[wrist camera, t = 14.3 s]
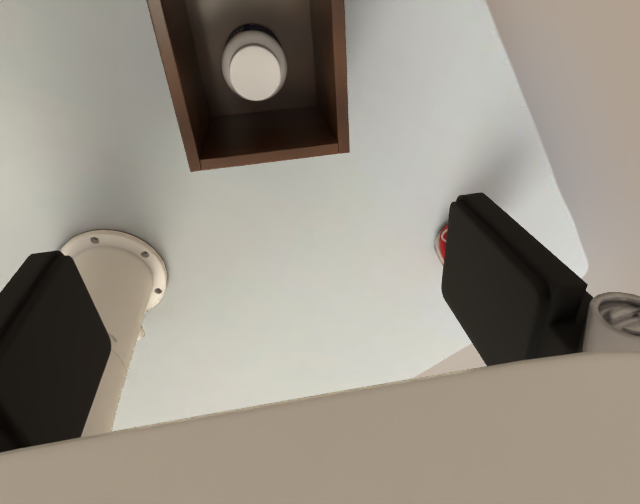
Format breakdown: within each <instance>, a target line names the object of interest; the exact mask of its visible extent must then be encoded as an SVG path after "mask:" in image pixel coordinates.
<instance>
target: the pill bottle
mask: <svg viewBox="0 0 640 504" xmlns="http://www.w3.org/2000/svg"><path fill="white" fill-rule="evenodd" d="M222 72H223V76H224V79H225V81H226V83H227V84H228V86H229V87H230V88H231V90H232V91H233V92H235V93H236V94H237V95H238V96H240V97H242V98H244V99H247V100H251V101H262V100H266V99H269V98H271V97H272V96H274V95H275V94H276V93H277V92H278V91H279V90H280V89H281V88H282V86H283V84H284V82H285V79H286V75H287V59H286V56H285V53H284V50H283V48H282V46H281V44H280V42H279V40H278V38H277V37H276V35H275V34H274V33H273V32H272V31H271V30H270V29H268V28H267V27H265V26H263V25H260V24H256V23H248V24H244V25H241V26H239V27H237V28H236V29H235V30H234V31H233V32H232V33H231V34H230V35H229V37H228V39H227V41H226V45H225V48H224V51H223V55H222Z"/></svg>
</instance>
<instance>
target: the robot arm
mask: <svg viewBox="0 0 640 504" xmlns="http://www.w3.org/2000/svg"><path fill="white" fill-rule="evenodd" d="M167 280H168V278H167V270H166V267H165V264H164V262H163V260H162V259H161V257H160V256H159V254H158V253H157V252H156V251H155V250H154V249H153V248H152V247H151V246H149V245H148V244H147V243H146V242H144V241H142V240H140V239H139V238H137V237H135V236H132V235H129V234H127V233H123V232H118V231H113V230H96V231H90V232H86V233H82V234H80V235H78V236H76V237H74V238H72V239H71V240H69V241H68V242H67V243H66V244H65V245H64V246H63V247H62V249H61V250H60V251H51V252H43V253H36V254H31V255H30V256H29V257H28V258H27V259H26V260H25V262H24V263H23V264H22V266H21V267H20V268H19V269H18V271H17V272H16V273H15V275H14V276H13V277H12V278H11V280H10V281H9V282H8V284H7V285H6V286H5V287H4V289H3V290H2V291H1V293H0V504H640V297H639V296H637V295H633V294H628V293H621V292H608V293H603V294H599V295H597V296H596V297H594V298H593V297H592V296H591V295H590V294H589V293H588V292H586V288H587V284H586V283H585V282H584V281H583V280H582V279H581V278H580V277H578V276H577V275H576V274H575V273H574V272H573V271H572V270H571V269H569V268H568V267H567V266H566V265H565V264H564V263H563V262H561V261H560V260H559V259H558V258H557V257H556V256H555V255H553V254H552V253H551V252H550V251H549V250H548V249H547V248H545V247H544V246H543V245H542V244H541V243H540V242H539V241H537V240H536V239H535V238H534V237H533V236H532V235H531V234H529V233H528V232H527V231H526V230H525V229H524V228H523V227H522V226H520V225H519V224H518V223H517V222H516V221H515V220H514V219H512V218H511V217H510V216H509V215H508V214H507V213H506V212H504V211H503V210H502V209H501V208H500V207H499V206H498V205H496V204H495V203H494V202H493V201H492V200H491V199H490V198H488V197H487V196H486V195H485V194H484V193H474V194H467V195H460V196H459V197H458V198H457V200H456V202H452V203H451V205H450V210H449V219H448V229H447V238H446V248H445V257H444V267H443V276H442V294H443V297H444V299H445V301H446V302H447V304H448V305H449V307H450V309H451V310H452V312H453V313H454V315H455V316H456V318H457V320H458V321H459V323H460V324H461V326H462V327H463V329H464V331H465V332H466V334H467V335H468V337H469V338H470V340H471V342H472V343H473V345H474V346H475V348H476V349H477V351H478V353H479V354H480V356H481V357H482V359H483V360H484V362H485V364H486V365H487V366H486V367H480V368H474V369H467V370H462V371H456V372H450V373H444V374H439V375H432V376H426V377H420V378H414V379H408V380H403V381H397V382H391V383H385V384H379V385H373V386H367V387H361V388H355V389H350V390H344V391H338V392H333V393H327V394H321V395H315V396H310V397H304V398H298V399H292V400H287V401H281V402H275V403H270V404H264V405H258V406H253V407H247V408H241V409H236V410H230V411H224V412H219V413H213V414H207V415H202V416H196V417H191V418H185V419H180V420H174V421H169V422H163V423H158V424H152V425H146V426H141V427H135V428H130V429H124V430H119V431H113V432H112V428H113V423H114V419H115V414H116V410H117V406H118V403H119V399H120V395H121V392H122V389H123V385H124V382H125V379H126V375H127V372H128V369H129V365H130V362H131V358H132V355H133V352H134V348H135V345H136V342H137V339H141V338H143V337H144V336H145V332H144V330H143V327H142V326H141V325H142V322H143V318H144V315H145V312H147V311H149V310H150V309H152V308H153V307H155V306H156V305H157V303H158V302H159V301H160V300H161V298H162V297H163V295H164V293H165V290H166V286H167Z"/></svg>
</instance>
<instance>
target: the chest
mask: <svg viewBox="0 0 640 504" xmlns="http://www.w3.org/2000/svg"><path fill="white" fill-rule="evenodd" d="M146 1H147V4H148V8H149V12H150V16H151V20H152V24H153V28H154V32H155V35H156V39H157V43H158V47H159V51H160V55H161V59H162V63H163V67H164V70H165V74H166V78H167V82H168V86H169V90H170V94H171V98H172V101H173V105H174V109H175V113H176V117H177V121H178V125H179V129H180V133H181V136H182V140H183V144H184V148H185V152H186V156H187V160H188V164H189V167H190V171H191V172H194V171H201V170H210V169H218V168H226V167H234V166H243V165H251V164H259V163H267V162H275V161H283V160H291V159H299V158H307V157H315V156H323V155H331V154H338V153H339V154H340V153H348V152H350V150H349V122H348V94H347V66H346V38H345V11H344V0H146ZM248 23H256V24H260V25H263V26H265V27H267V28H268V29H270V30H271V31H272V32H273V33H274V34H275V35H276V37H277V38H278V40H279V42H280V44H281V46H282V48H283V50H284V53H285V56H286V59H287V75H286V79H285V82H284V84H283V86H282V88H281V89H280V90H279V91H278V92H277V93H276V94H275V95H274V96H272V97H271V98H269V99H266V100H262V101H251V100H247V99H244V98H242V97H240V96H238V95H237V94H236V93H235V92H233V91H232V90H231V88H230V87H229V86H228V84H227V83H226V81H225V79H224V76H223V72H222V55H223V51H224V48H225V45H226V41H227V39H228V37H229V35H230V34H231V33H232V32H233V31H234V30H235V29H236V28H237V27H239V26H241V25H244V24H248Z"/></svg>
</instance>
